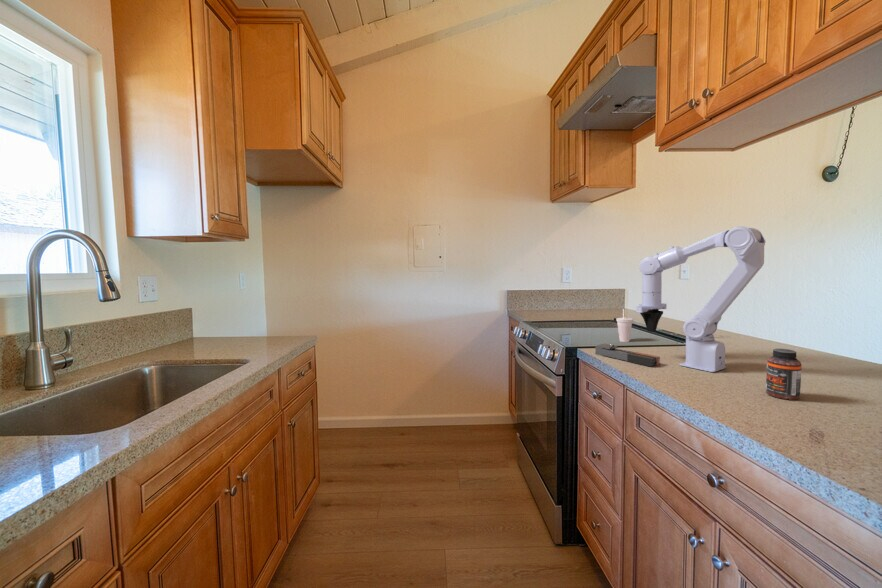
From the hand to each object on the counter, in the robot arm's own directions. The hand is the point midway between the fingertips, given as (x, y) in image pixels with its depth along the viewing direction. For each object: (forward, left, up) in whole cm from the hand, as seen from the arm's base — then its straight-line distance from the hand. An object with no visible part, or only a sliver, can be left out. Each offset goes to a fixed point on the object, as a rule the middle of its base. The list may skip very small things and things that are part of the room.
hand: (651, 331), depth 120 cm
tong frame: (+4, +8, -9) cm, 13 cm away
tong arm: (+2, +7, -9) cm, 12 cm away
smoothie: (+22, -18, -10) cm, 30 cm away
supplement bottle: (-37, +9, -10) cm, 39 cm away
